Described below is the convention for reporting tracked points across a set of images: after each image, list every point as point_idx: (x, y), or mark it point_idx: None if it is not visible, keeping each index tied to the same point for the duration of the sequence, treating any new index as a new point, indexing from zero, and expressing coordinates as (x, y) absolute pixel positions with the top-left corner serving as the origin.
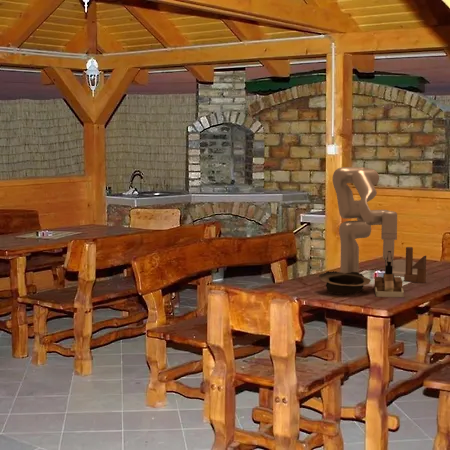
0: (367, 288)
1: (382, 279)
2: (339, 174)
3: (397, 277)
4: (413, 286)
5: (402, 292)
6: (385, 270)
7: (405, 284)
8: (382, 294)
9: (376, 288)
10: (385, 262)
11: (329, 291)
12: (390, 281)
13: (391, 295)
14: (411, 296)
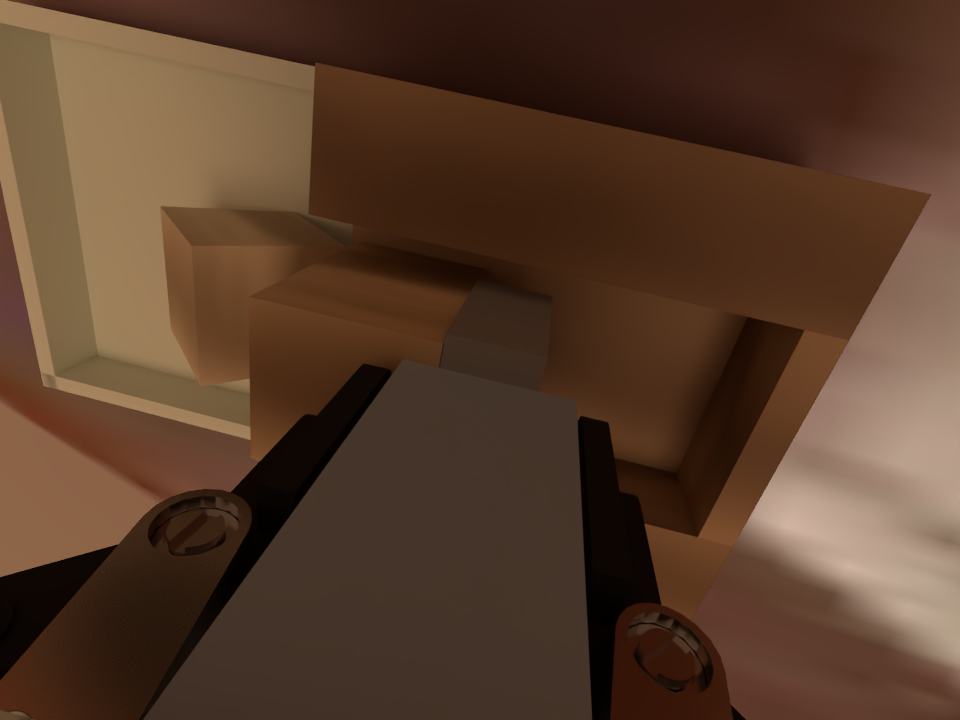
0: (753, 17)
1: (772, 337)
2: None
3: (678, 575)
4: (726, 644)
5: (45, 370)
6: (371, 403)
7: (887, 623)
8: (28, 111)
9: (237, 70)
10: (269, 607)
11: None
12: (196, 338)
13: (59, 234)
14: (169, 446)
